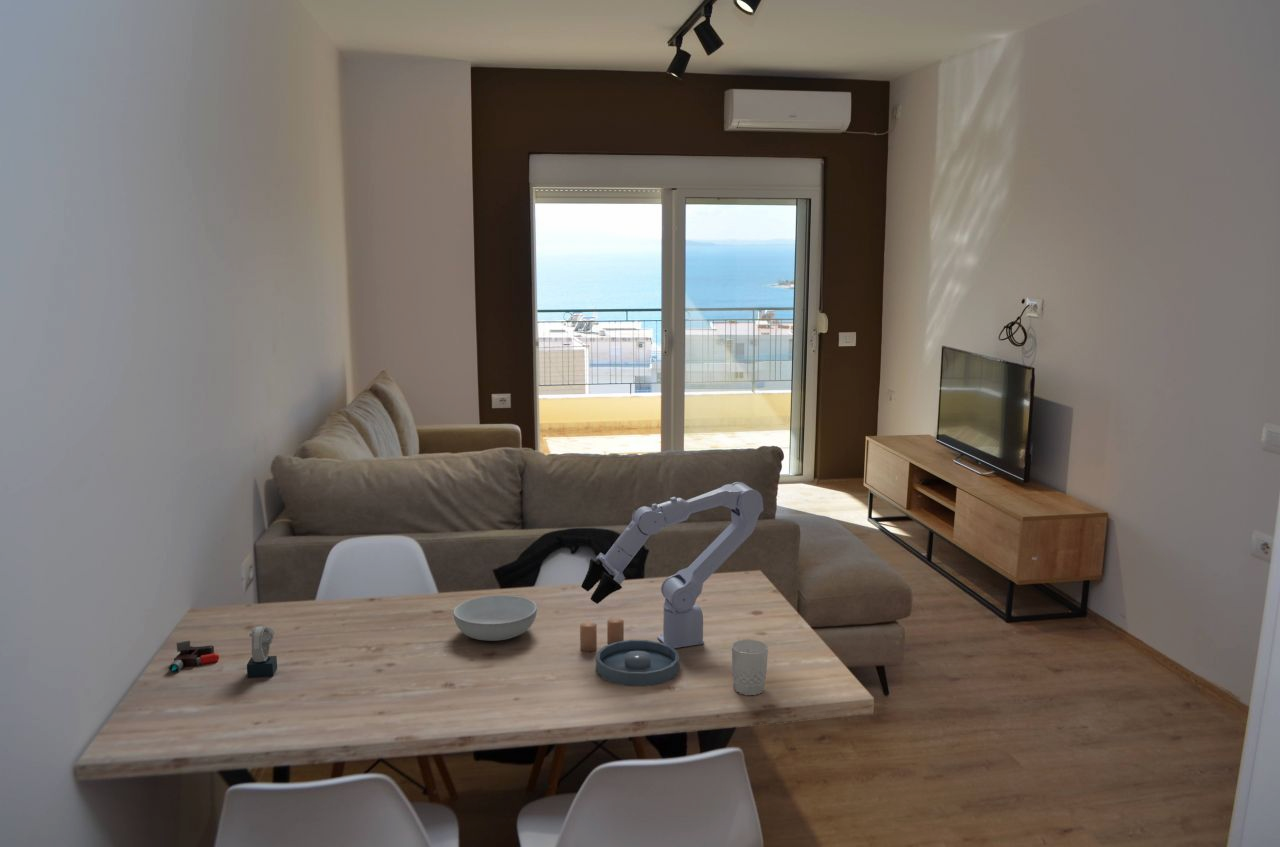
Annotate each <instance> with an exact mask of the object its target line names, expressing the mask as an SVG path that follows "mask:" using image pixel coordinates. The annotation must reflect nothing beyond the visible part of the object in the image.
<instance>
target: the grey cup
mask: <svg viewBox="0 0 1280 847" xmlns="http://www.w3.org/2000/svg"><path fill="white" fill-rule="evenodd" d="M768 652H769V646H768V645H767V644H766V643H765V642H763V641H761V640H756V639H741V640H740V639H739V640H737V641H734V642H733V643H732V644H731V654H732V655H731V660H732V661H731V662H732V663H731V664H732V678H733V690H734V691H735V690H736V691H735V692H736V693H737V692H739V693H738V694H740V693H741V694H740V695H742V694H746V695H745V696H747V695H754V696H757V695H756V694H759V695H761V694H762V693H764V692H765V683H766V678H767V667H768V654H769V653H768ZM760 693H761V694H760Z"/></svg>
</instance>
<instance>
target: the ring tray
mask: <svg viewBox="0 0 1280 847" xmlns="http://www.w3.org/2000/svg"><path fill="white" fill-rule="evenodd" d="M679 653H680V652H678V651H677V650H676V648H673V647H671V646H668V645H666V644H664V643H663V642H661V641H654V640H648V639H624V641H619V642H614V643H612V644H609V645H607V644H606V645H604V646H603V647H601V648H600V649H599V650H598V651H597V652H596V656H595V657H596V658H595V671H596V672H597V674H598V675H599V676H600V678H601V679H603V680H605V679H606V681H608V682H609V683H612V684H617V685H621V686H626V687H627V686H628V687H648V686H655V685H659V684H660V683H661V684H663V683H666V682H667V681H671V680H673V679H674V678H675V677H676V676H677V674H679V673H680V671H679V670H680V656H679V655H680V654H679ZM674 676H675V677H674ZM654 684H655V685H654Z"/></svg>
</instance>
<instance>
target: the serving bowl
mask: <svg viewBox="0 0 1280 847" xmlns="http://www.w3.org/2000/svg"><path fill="white" fill-rule="evenodd" d="M537 612H538V605H537V604H536V602H534V601H533V600H531V599H529V598H526V597H524V596H518V595H511V594H508V595H507V594H496V595H484V596H479V597H476V598H470V599H468V600H465V601H463V602H461V603H459V604H458V605H456V606H455V608H454V609H453V614H452V616H453V619H454V622H455V624H456V625H455V626H456V627H457V628H458V629H459V631H460V632H461V633H462V634H464V635H465V636H467V637H470V638H471V639H474V640H479V641H489V642H492V641H496V642H497V641H505V640H509V639H512V638H515V637H518V636H520V635H523V634H524V633H525V632H527V631H528V630H530V628H531V627H532V625H533V624H534V622H535V620H536V617H537Z"/></svg>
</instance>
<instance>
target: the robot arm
mask: <svg viewBox="0 0 1280 847" xmlns="http://www.w3.org/2000/svg"><path fill="white" fill-rule="evenodd" d="M669 499H670V500H667V501H664V502H661V503H659V504H657V503H652V504H651V507H650V506H646V505H644V506H641V507H638V508H637V510H636V509H635V510H633V512H632V515H631V521H630V523H629V524H628V525H627V527H626V528H624V530H623V531H622V532H621V534H620V535H619V536H618V538H617V539H616V540H615V541H614V543H613V544H612V546H611V547H610V548H609V550H608V551H607V552H606V554H604V553H602V552H599V554H598V555H597V556H596V557H595V559H596V560H595V559H593V558H590V560H589V564H588V570H587V573H586V574H585V577H584V579H583V582H582V584H581V585H580V587H581V588H582V590H585V591H586V592H589V591H591V590H592V589H593V587H594V586H596V584H597V583H598V584H597V587H596V588H595V590H594V591H593V593H592V595H591V597H590V600H591V601H592V602H593V603H595V604H596V605H598V604H600V603H601V602H602V601H603V600H605V599H606V598H607V597H608V596H610V595H611V594H613V593H615V592H617V591H620V590H621V589H622V588H623V586H622V583H623V582H624V581H625V579H626V577H625V576H624V573H623V572H624V570H625V569H626V568H627V567H628V565H629V564H630V562H631V561H632V560H633V559H634V557H635V556H636V555H637V553H638V552H639V551H640V549H641V548H642V547H643V546H644V544H645V543H646V541H647V540H648V539H649V537H650V536H652V535H657V534H658V533H660V531H661V530H662V528H666V527H669V526H673V525H676V524H679V523H681V522H685V521H688V519H689V517H690V515H691V514H695V513H698V512H701V511H706V510H709V509H712V508H713V509H714V508H717V507H720V506H721V507H725V508H728V509H730V516H731V517H730V518H731V521H730V522H731V523H730V524H729V525H728V526H727V527H726V528H725V529H724V530H723V531H722V532H720V534H719V535H718V536H717V537H715V539H714V540H713V541H712V542H711V543H710V544H709V545H708V546H707V547H706V548H705V549H704V550H703V551H702V552H701V553H700V554H699V556H697V557H696V559H695V560H693V562H691V563H690V565H689V566H688V567H685V568H683V569H679V570H678V571H677V572H675V573H674V574H672V575H669V576H668V577H667V578H665V579H664V580H663V581H662V583H661V586H660V590H661V595H662V596H663V597H664V598H665V600H664V603H663V619H662V620H663V627H662V628H663V629H662V630H663V632H662V634H659V635H657V637H656V638H657V639H658V640H659V642H661V643H663V644H666V645H668V646H671V647H673V648H674V649H678V648H679V649H680V648H685V647H692V646H693V647H694V646H698V645H704V644H705V641H704V615H703V611H702V609H701V607H700V605H699V604H696V601H697V599H698V598H699V596H700V595H701V594H702V592H703V588H704V587H703V586H704V583H706V582H707V580H708V579H709V578H710V577H711V576H712V575H713V574H714V573H715V572H716V571H717V570H718V569H719V568H720V567H721V566H722V565H723V563H724V562H725V561H726V560H727V559H728V558H730V556H731V555H732V554H733V553H735V551H736V550H737V549H738V548H739V547H741V545H742V544H743V543H745V541H746V540H747V539H748V538H749V537H750V536H751V535H752V534H753V532H754V530H755V528H756V525H757V522H758V520H759V517H760V514H761V513H763V511H764V501H763V499H764V498H763V496H762V494H761V493H760V492H759V491H758V490H756V489H753V488H752V487H750V486H748V485H747V484H746V483H745V482H741V481H736V482H733V483H728V484H723V485H722V486H720V487H719V488H716V489H713V490H711V491H708V492H705V493H703V494H700V495H697V496H695V497H692V498H689V499H687V500H686V499H683V498H682V497H676V496H672V497H669Z"/></svg>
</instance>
